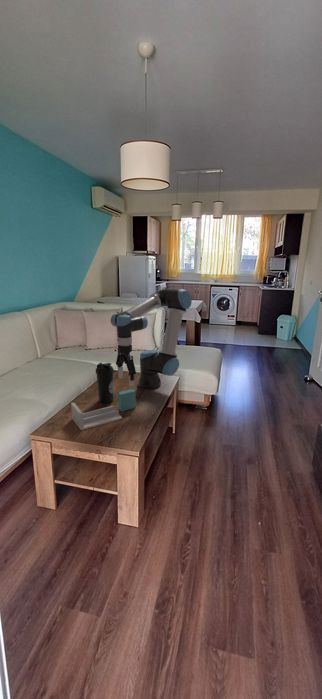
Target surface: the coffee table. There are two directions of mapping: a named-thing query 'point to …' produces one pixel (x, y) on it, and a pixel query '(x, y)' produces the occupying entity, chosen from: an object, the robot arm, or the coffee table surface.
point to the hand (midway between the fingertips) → (126, 381)
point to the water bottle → (105, 382)
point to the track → (94, 416)
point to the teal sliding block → (126, 400)
